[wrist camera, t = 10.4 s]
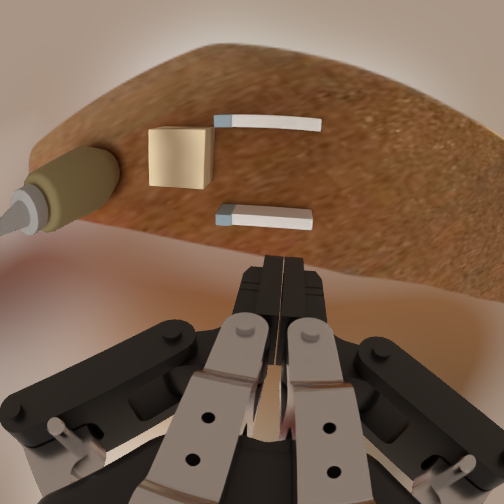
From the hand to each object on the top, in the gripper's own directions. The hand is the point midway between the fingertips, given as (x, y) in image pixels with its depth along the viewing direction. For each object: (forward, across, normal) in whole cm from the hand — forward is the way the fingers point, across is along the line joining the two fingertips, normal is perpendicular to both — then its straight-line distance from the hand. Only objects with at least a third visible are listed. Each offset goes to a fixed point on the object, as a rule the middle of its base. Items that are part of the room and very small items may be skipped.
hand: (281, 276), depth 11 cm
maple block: (+21, +11, -2) cm, 24 cm away
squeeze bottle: (+21, +23, 0) cm, 31 cm away
